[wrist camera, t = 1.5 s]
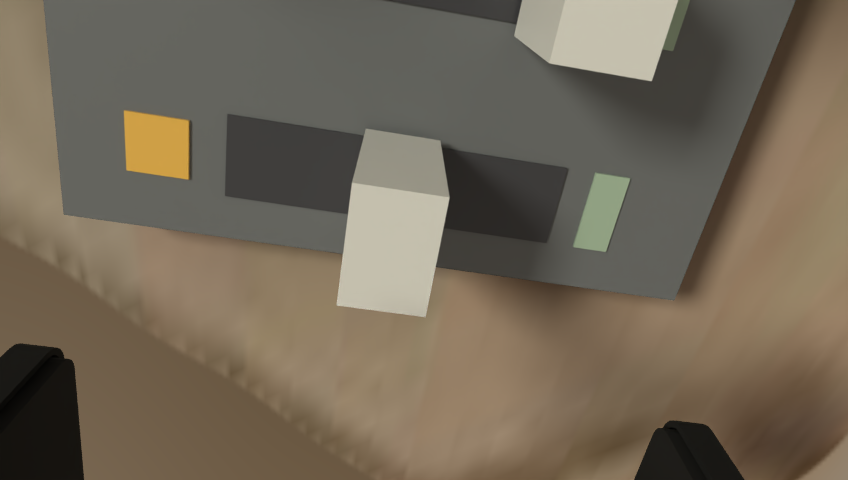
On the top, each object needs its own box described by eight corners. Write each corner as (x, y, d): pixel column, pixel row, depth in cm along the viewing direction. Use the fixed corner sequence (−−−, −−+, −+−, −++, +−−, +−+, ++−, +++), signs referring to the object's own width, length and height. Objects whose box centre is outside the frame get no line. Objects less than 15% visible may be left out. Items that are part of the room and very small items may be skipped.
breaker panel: (79, -225, 18) (16, -260, 15) (773, -83, 20) (834, -90, 17) (104, 184, 23) (62, 215, 20) (645, 263, 25) (675, 301, 22)
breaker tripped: (365, 128, 19) (352, 182, 14) (440, 140, 19) (449, 197, 15) (353, 227, 20) (336, 305, 16) (422, 237, 21) (425, 317, 16)
